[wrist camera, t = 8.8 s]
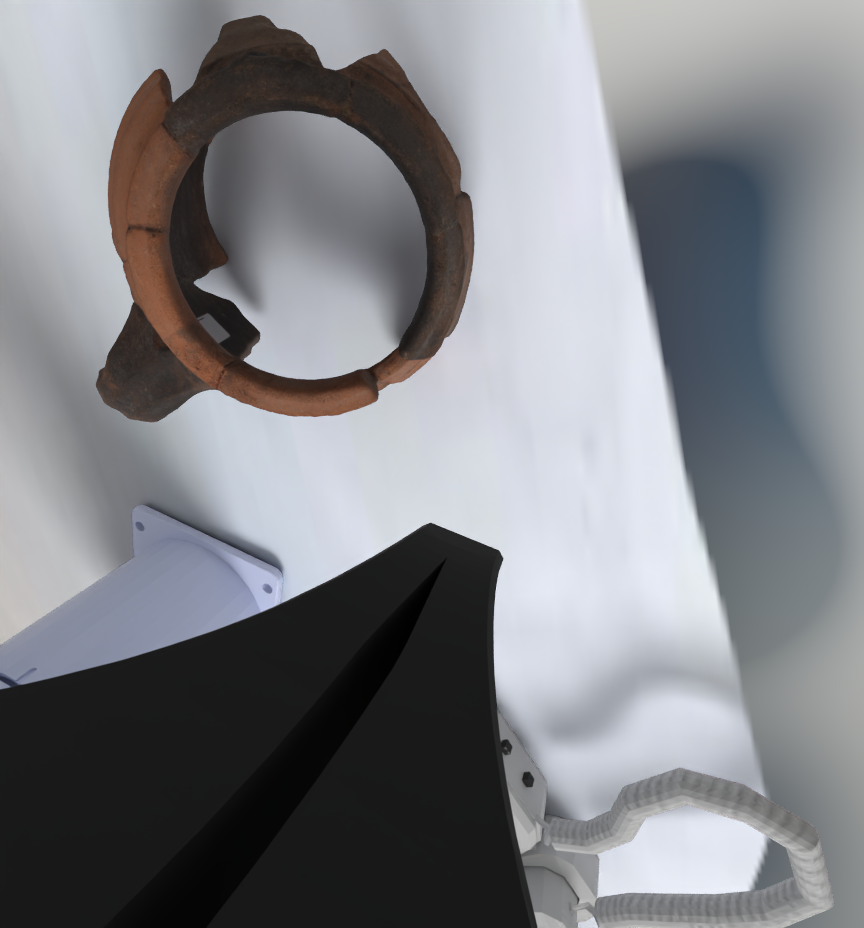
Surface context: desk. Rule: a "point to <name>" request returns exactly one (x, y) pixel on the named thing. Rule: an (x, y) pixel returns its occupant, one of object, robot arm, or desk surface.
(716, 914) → the intercom
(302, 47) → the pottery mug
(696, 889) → the desk surface
